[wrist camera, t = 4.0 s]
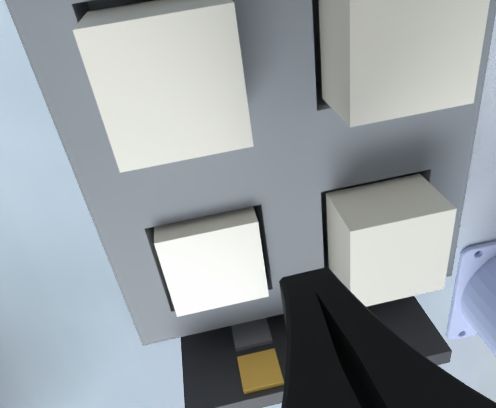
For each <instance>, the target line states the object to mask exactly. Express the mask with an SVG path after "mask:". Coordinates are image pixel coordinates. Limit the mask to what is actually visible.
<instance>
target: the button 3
mask: <svg viewBox="0 0 496 408" xmlns="http://www.w3.org/2000/svg"><path fill="white" fill-rule="evenodd" d="M489 4H490V0H319V26H320V52H321V78H322V99H323V100H324V101H325V102H326V103H327V104H328V105H329V106H330V107H331V108H332V109H333V110H334V111H335V112H336V113H337V114H338V115H339V116H340V117H341V119H342V120H343V121H344V122H345V123H346V124H347V125H348V126H349V127H355V126H360V125H365V124H370V123H375V122H380V121H386V120H391V119H396V118H401V117H406V116H411V115H416V114H421V113H426V112H431V111H436V110H441V109H446V108H452V107H457V106H462V105H467V104H472V103H474V98H475V92H476V85H477V79H478V73H479V66H480V60H481V54H482V48H483V41H484V35H485V29H486V22H487V16H488V10H489Z"/></svg>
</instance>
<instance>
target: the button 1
mask: <svg viewBox="0 0 496 408" xmlns="http://www.w3.org/2000/svg"><path fill="white" fill-rule="evenodd" d="M73 33H74V36H75V39H76V42H77V45H78V48H79V51H80V54H81V57H82V60H83V63H84V66H85V69H86V72H87V75H88V78H89V81H90V84H91V87H92V90H93V93H94V96H95V99H96V102H97V105H98V108H99V111H100V114H101V117H102V120H103V123H104V126H105V129H106V132H107V135H108V138H109V141H110V144H111V147H112V150H113V153H114V156H115V159H116V162H117V165H118V168H119V171H120V173H122V172H127V171H132V170H137V169H142V168H147V167H152V166H157V165H162V164H167V163H172V162H177V161H182V160H188V159H193V158H198V157H203V156H208V155H213V154H218V153H223V152H228V151H233V150H238V149H243V148H248V147H254V145H253V138H252V130H251V123H250V116H249V108H248V101H247V94H246V86H245V79H244V71H243V64H242V57H241V49H240V42H239V35H238V27H237V20H236V13H235V5H234V2H233V1H232V0H154V1H148V2H142V3H136V4H130V5H124V6H118V7H112V8H106V9H100V10H94V11H88V12H86V14H85V15H84V16H83V17H82V19H81V20H80V21H79V22H78V24H77V25H76V26H75V28H74V29H73Z"/></svg>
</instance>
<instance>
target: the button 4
mask: <svg viewBox="0 0 496 408" xmlns="http://www.w3.org/2000/svg"><path fill="white" fill-rule="evenodd" d="M326 209H327V235H328V261H329V269H330V270H331V271H332V272H333V273H334V274H335V275H336V277H337V278H338V279H339V280H340V281H341V282H342V283H343V284H344V285H345V286H346V287H347V288H348V289H349V290H350V291H351V292H352V293H353V294H354V295H355V296H356V297H357V298H358V299H359V300H360V301H361V302H362V303H363V304H364V305H365V306H366V307H367V306H371V305H376V304H380V303H384V302H389V301H393V300H397V299H402V298H406V297H411V296H415V295H419V294H424V293H428V292H432V291H437V290H441V289H444V286H445V280H446V274H447V267H448V261H449V255H450V249H451V242H452V236H453V230H454V223H455V217H456V211H457V208H455V207H454V206H453V205H452V204H451V203H450V202H449V201H448V200H447V199H446V198H445V197H444V196H443V195H442V194H441V193H440V192H439V191H438V190H436V189H435V188H434V187H433V186H432V185H431V184H430V183H429V182H428V181H427V180H426V179H425V178H424V177H423V176H422V175H421V174H415V175H411V176H406V177H401V178H396V179H391V180H386V181H382V182H377V183H372V184H367V185H362V186H358V187H353V188H348V189H343V190H338V191H333V192H329V193H326Z"/></svg>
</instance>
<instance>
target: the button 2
mask: <svg viewBox="0 0 496 408" xmlns="http://www.w3.org/2000/svg"><path fill="white" fill-rule="evenodd" d="M154 245H155V249H156V252H157V255H158V258H159V261H160V264H161V268H162V271H163V274H164V277H165V280H166V283H167V287H168V290H169V293H170V296H171V299H172V302H173V305H174V309H175V312H176V315H177V317H179V316H184V315H188V314H192V313H197V312H201V311H206V310H210V309H215V308H219V307H224V306H228V305H233V304H237V303H242V302H246V301H251V300H255V299H260V298H264V297H269V293H268V286H267V279H266V273H265V266H264V259H263V252H262V245H261V238H260V231H259V224H258V220H257V217H256V214H255V211H254V208H253V206H251V207H246V208H241V209H237V210H232V211H227V212H222V213H217V214H212V215H208V216H203V217H198V218H193V219H188V220H184V221H179V222H174V223H169V224H164V225H159V226H155V227H154Z"/></svg>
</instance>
